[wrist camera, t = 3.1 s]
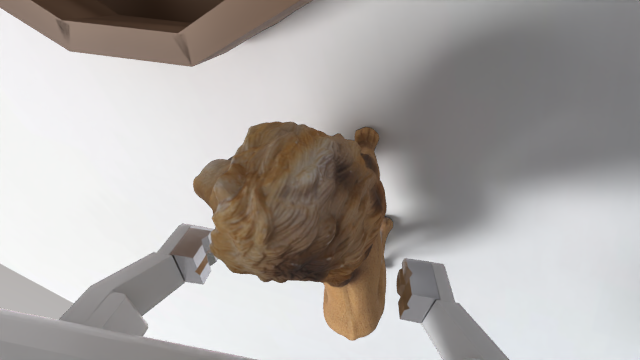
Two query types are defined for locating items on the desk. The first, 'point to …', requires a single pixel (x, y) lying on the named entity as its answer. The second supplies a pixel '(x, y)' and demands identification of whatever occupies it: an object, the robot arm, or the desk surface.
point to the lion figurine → (305, 216)
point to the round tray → (151, 25)
